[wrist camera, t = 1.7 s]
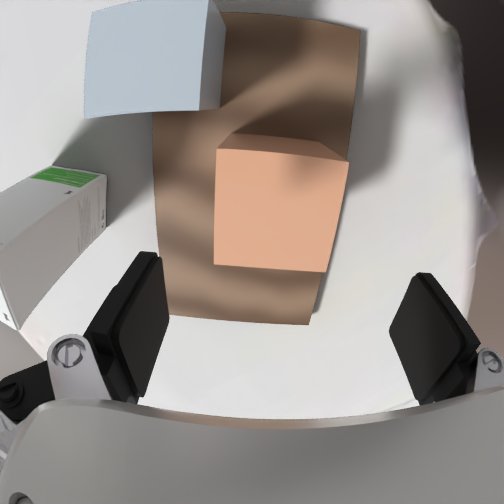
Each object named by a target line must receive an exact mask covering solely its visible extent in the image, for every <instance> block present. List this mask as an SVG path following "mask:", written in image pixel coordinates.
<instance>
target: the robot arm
mask: <svg viewBox="0 0 504 504" xmlns="http://www.w3.org/2000/svg"><path fill="white" fill-rule="evenodd" d="M168 324H169V310H168V303H167V295H166V287H165V279H164V270H163V261H162V258H161V257H158V255H157V253H156V252H144V251H140V252H139V254H138V255H137V256H136V258H135V259H134V261H133V262H132V264H131V265H130V266H129V268H128V269H127V271H126V272H125V274H124V275H123V277H122V278H121V280H120V281H119V283H118V284H117V285H116V286H114V287H113V288H112V290H111V291H110V293H109V295H108V296H107V298H106V299H105V301H104V302H103V304H102V305H101V307H100V309H99V310H98V312H97V313H96V315H95V317H94V318H93V320H92V321H91V323H90V325H89V326H88V328H87V330H86V331H85V333H84V335H83V336H80V335H77V334H69V335H64V336H62V337H60V338H58V339H57V340H55V341H54V342H53V343H52V344H51V346H50V347H49V349H48V352H47V360H46V361H44V362H42V363H39V364H37V365H34V366H32V367H29V368H27V369H24V370H22V371H19V372H17V373H15V374H12V375H9V376H7V377H5V378H3V379H2V380H1V381H0V504H504V361H503V359H502V358H501V356H500V355H499V354H498V353H497V352H496V351H494V350H493V349H490V348H482V349H481V350H480V351H479V353H478V354H477V352H476V349H477V348H478V346H479V345H480V344H481V343H480V341H479V339H478V338H477V336H476V335H475V333H474V332H473V330H472V329H471V327H470V326H469V324H468V323H467V321H466V320H465V318H464V317H463V315H462V314H461V312H460V311H459V310H458V308H457V307H456V305H455V304H454V303H453V301H452V300H451V299H450V297H449V296H448V294H447V293H446V292H445V290H444V289H443V288H442V287H441V285H440V284H439V283H438V281H437V280H436V279H435V278H434V276H433V275H432V274H431V273H421V272H419V273H417V274H416V275H415V276H413V277H412V279H411V281H410V284H409V286H408V289H407V291H406V293H405V296H404V298H403V300H402V302H401V305H400V307H399V309H398V311H397V313H396V315H395V317H394V319H393V322H392V324H391V326H390V329H389V334H390V337H391V339H392V342H393V344H394V346H395V349H396V351H397V353H398V356H399V358H400V361H401V363H402V366H403V368H404V371H405V373H406V376H407V378H408V381H409V383H410V386H411V389H412V391H413V394H414V397H415V399H416V400H418V402H419V404H420V406H416V407H411V408H406V409H400V410H394V411H388V412H382V413H375V414H367V415H359V416H349V417H337V418H322V419H248V418H233V417H221V416H211V415H202V414H194V413H186V412H179V411H172V410H166V409H160V408H154V407H149V406H143V405H137V403H138V400H139V397H144V395H145V393H146V390H147V386H148V383H149V380H150V377H151V374H152V371H153V368H154V365H155V362H156V359H157V356H158V353H159V350H160V347H161V344H162V341H163V338H164V335H165V332H166V330H167V327H168ZM434 401H435V402H434ZM127 402H128V403H127ZM433 402H434V403H433ZM131 403H132V404H131Z"/></svg>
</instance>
